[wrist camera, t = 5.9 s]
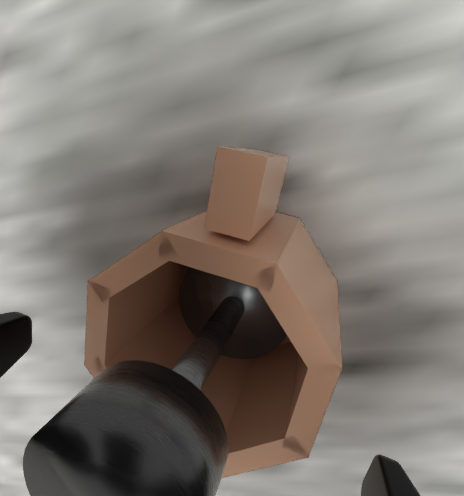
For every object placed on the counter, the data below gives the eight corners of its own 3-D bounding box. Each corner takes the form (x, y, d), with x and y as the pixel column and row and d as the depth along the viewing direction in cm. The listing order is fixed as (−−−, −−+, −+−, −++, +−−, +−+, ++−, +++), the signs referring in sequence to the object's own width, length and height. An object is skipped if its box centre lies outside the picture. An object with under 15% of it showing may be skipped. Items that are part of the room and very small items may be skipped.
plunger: (308, 266, 11) (267, 469, 4) (278, 368, 12) (207, 653, 5) (192, 233, 12) (-13, 348, 5) (176, 331, 13) (1, 531, 6)
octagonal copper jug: (373, 173, 11) (410, 189, 6) (304, 379, 14) (289, 509, 9) (191, 135, 13) (94, 121, 7) (164, 328, 15) (81, 414, 10)
